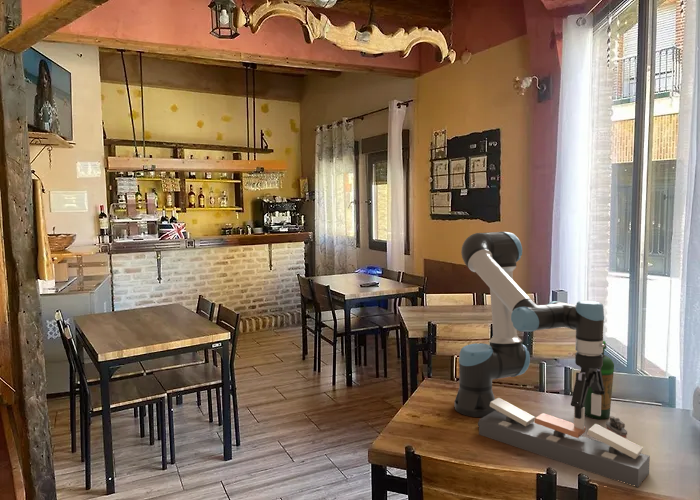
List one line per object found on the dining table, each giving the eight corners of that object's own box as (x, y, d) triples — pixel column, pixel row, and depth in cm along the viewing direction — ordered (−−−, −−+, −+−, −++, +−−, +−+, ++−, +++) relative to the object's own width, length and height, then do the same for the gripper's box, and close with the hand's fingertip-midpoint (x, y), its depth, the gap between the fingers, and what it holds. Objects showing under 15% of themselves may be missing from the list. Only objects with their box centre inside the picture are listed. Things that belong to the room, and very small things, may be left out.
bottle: (617, 422, 175) (619, 341, 173) (583, 420, 178) (585, 340, 175) (608, 410, 186) (610, 334, 184) (576, 408, 188) (578, 333, 186)
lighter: (602, 445, 159) (603, 413, 158) (613, 444, 159) (614, 413, 158) (618, 457, 151) (619, 424, 150) (629, 457, 151) (630, 424, 150)
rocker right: (587, 434, 147) (588, 429, 147) (594, 428, 151) (595, 423, 150) (635, 459, 138) (637, 454, 138) (641, 452, 142) (643, 447, 142)
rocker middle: (534, 422, 158) (535, 417, 158) (542, 417, 162) (542, 412, 162) (577, 438, 149) (578, 432, 149) (584, 432, 153) (585, 427, 153)
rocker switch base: (470, 431, 170) (470, 412, 169) (486, 422, 177) (486, 403, 176) (637, 487, 135) (638, 462, 134) (649, 473, 142) (649, 449, 141)
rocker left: (489, 406, 169) (490, 401, 168) (497, 401, 173) (498, 397, 172) (525, 426, 160) (527, 421, 160) (533, 421, 164) (534, 416, 164)
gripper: (586, 364, 143) (584, 438, 145) (616, 346, 161) (614, 412, 163) (559, 359, 149) (558, 430, 150) (591, 342, 166) (590, 406, 168)
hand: (587, 421), depth 156 cm, fingers open, 13 cm apart
